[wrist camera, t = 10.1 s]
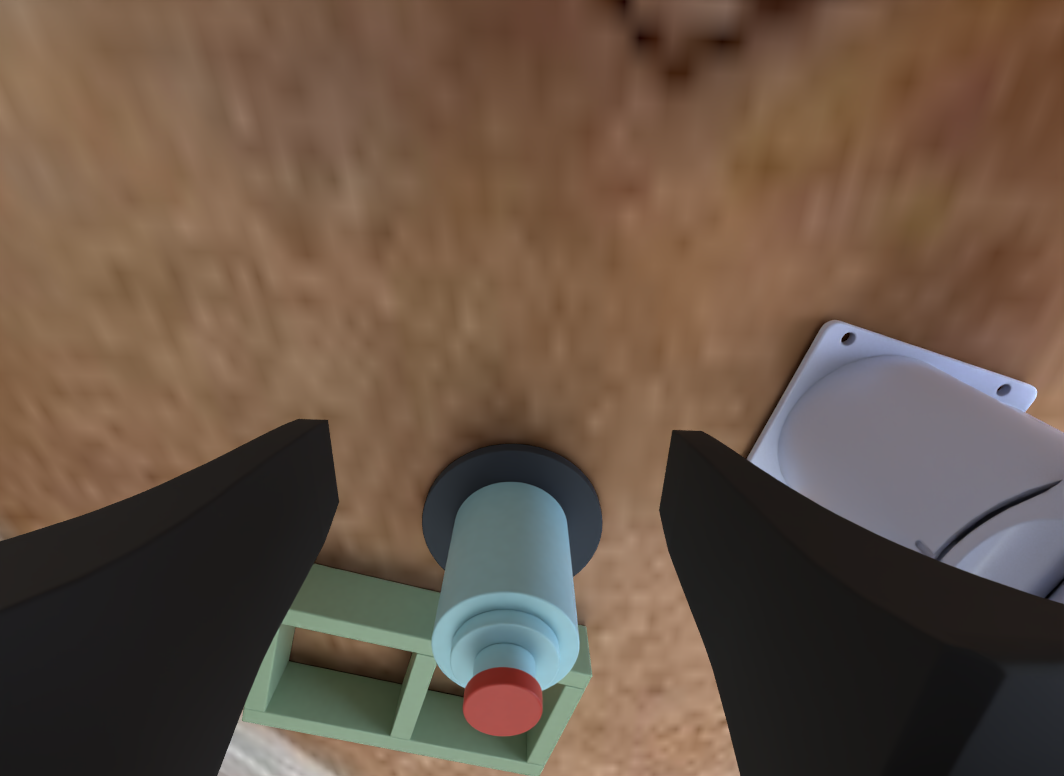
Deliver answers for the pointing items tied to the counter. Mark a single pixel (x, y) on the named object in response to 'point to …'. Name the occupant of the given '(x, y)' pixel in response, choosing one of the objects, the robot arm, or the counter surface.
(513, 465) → the coaster
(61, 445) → the counter surface
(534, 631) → the bottle
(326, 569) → the bottle rack
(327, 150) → the counter surface
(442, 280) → the counter surface
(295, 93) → the counter surface
